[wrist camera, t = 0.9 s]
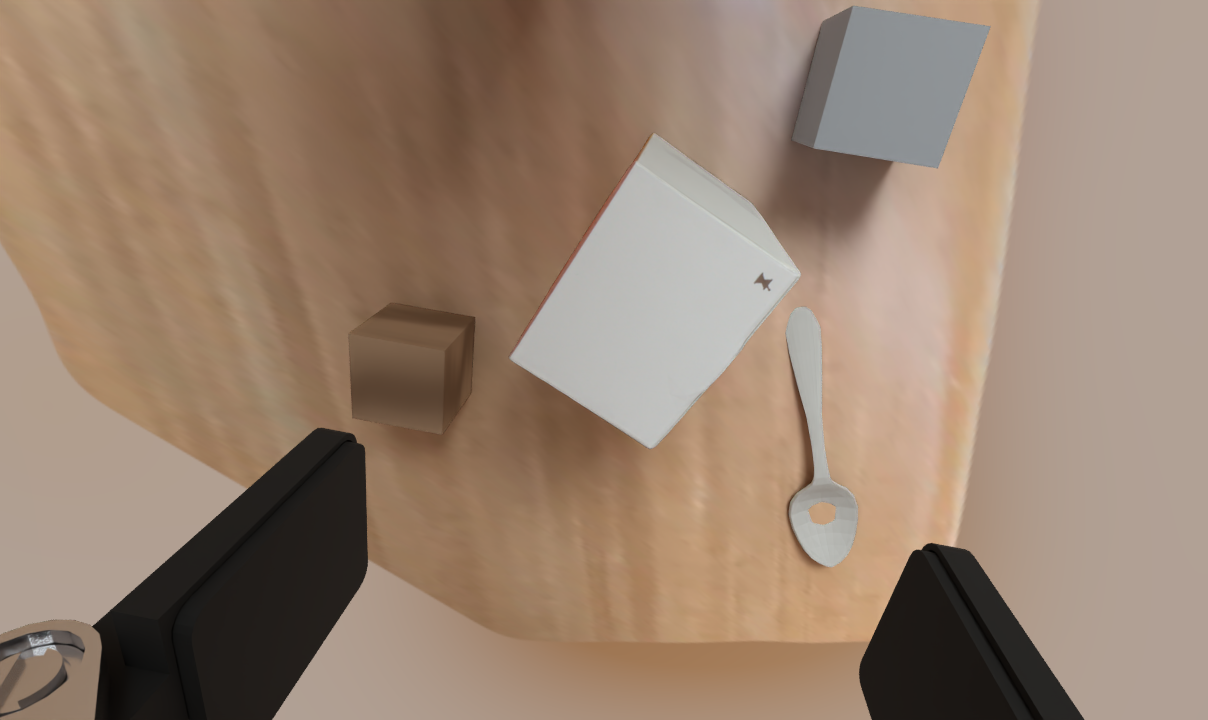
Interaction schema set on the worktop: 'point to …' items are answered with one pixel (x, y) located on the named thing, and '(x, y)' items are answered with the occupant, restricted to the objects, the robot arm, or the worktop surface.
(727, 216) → the small box
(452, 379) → the walnut block
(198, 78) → the worktop surface
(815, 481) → the spoon
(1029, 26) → the worktop surface
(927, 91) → the slate block
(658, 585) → the worktop surface
